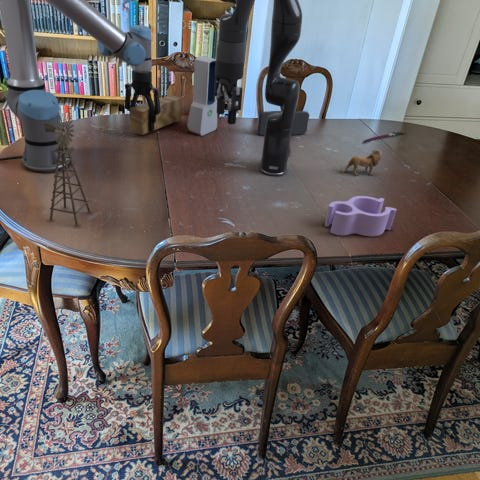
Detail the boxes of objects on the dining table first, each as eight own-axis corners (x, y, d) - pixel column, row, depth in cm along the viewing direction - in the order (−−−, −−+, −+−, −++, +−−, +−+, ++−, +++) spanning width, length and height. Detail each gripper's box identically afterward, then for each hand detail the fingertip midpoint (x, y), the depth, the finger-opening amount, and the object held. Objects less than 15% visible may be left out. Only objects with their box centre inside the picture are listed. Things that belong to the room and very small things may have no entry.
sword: (401, 131, 224) (402, 128, 223) (406, 133, 222) (407, 131, 221) (358, 142, 208) (358, 140, 207) (363, 145, 206) (363, 142, 205)
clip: (337, 240, 135) (342, 219, 131) (318, 218, 145) (322, 198, 141) (395, 233, 141) (402, 213, 137) (373, 213, 151) (378, 194, 147)
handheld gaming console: (303, 132, 210) (307, 110, 205) (306, 134, 208) (310, 112, 203) (256, 133, 203) (259, 111, 198) (258, 135, 201) (261, 113, 196)
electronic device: (200, 136, 194) (204, 61, 178) (186, 132, 197) (188, 57, 181) (217, 129, 203) (222, 57, 187) (203, 125, 206) (207, 53, 190)
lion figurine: (372, 168, 182) (378, 147, 177) (380, 174, 178) (386, 152, 173) (340, 171, 177) (345, 148, 172) (347, 177, 173) (352, 154, 168)
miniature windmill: (76, 226, 128) (64, 120, 112) (48, 221, 129) (32, 115, 113) (91, 211, 136) (82, 109, 120) (65, 206, 137) (52, 104, 121)
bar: (142, 134, 185) (141, 111, 180) (130, 131, 188) (129, 107, 183) (181, 119, 205) (181, 98, 200) (170, 116, 208) (170, 94, 203)
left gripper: (170, 72, 178) (169, 129, 191) (121, 64, 181) (124, 121, 194) (162, 76, 172) (162, 135, 185) (112, 68, 175) (116, 127, 188)
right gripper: (254, 65, 119) (247, 126, 128) (233, 52, 129) (228, 110, 138) (227, 65, 116) (222, 128, 125) (207, 52, 127) (204, 111, 135)
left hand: (143, 128), depth 189 cm, fingers closed on bar, 7 cm apart
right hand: (225, 118), depth 131 cm, fingers open, 8 cm apart
